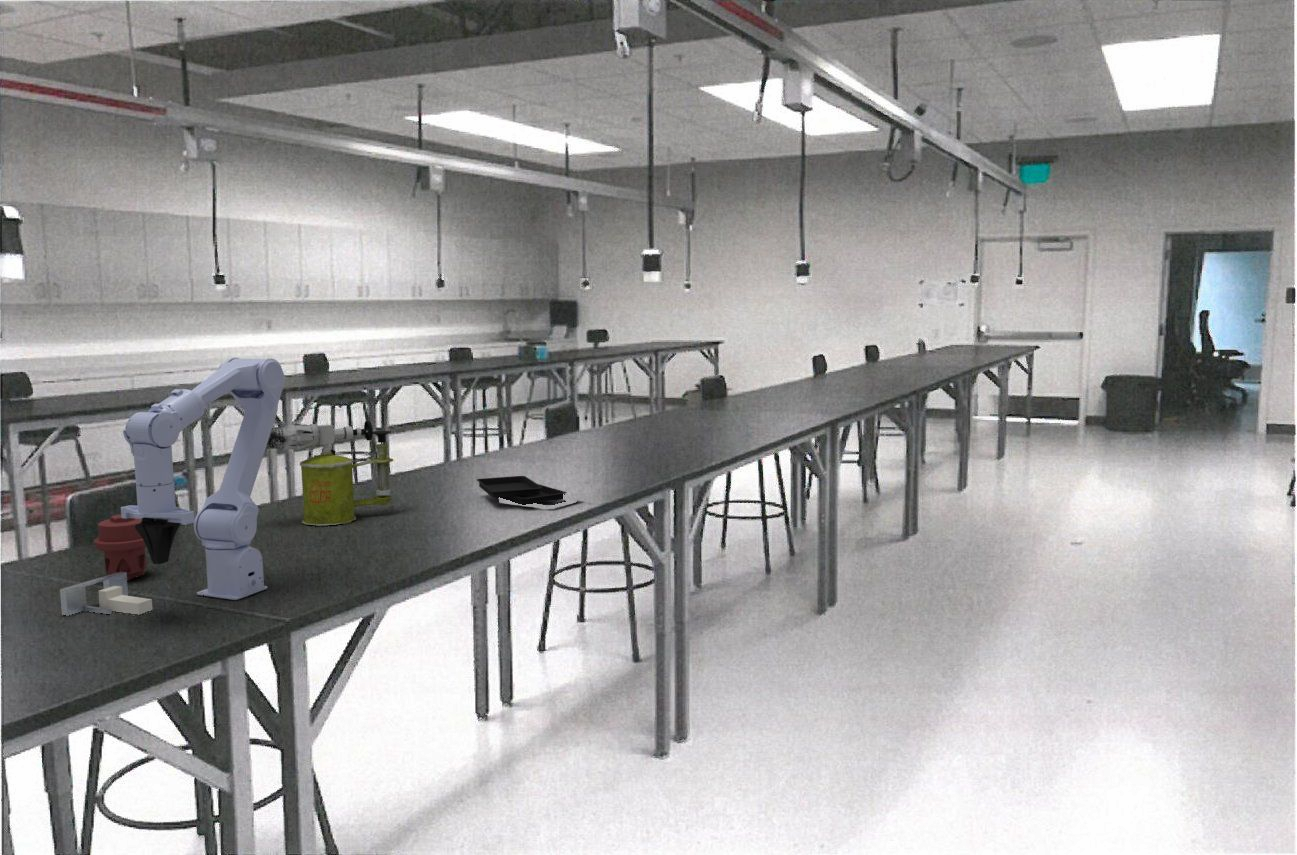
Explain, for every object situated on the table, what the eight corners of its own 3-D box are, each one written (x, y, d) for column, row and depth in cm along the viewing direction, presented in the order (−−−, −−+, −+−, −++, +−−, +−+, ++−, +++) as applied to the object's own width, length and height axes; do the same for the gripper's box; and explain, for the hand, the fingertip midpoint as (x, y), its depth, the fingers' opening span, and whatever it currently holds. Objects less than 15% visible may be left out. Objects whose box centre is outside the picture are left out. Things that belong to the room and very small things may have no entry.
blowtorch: (403, 518, 244) (399, 417, 241) (264, 534, 227) (258, 427, 223) (387, 508, 255) (383, 413, 252) (253, 524, 238) (247, 421, 234)
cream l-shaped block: (153, 611, 171) (152, 591, 170) (137, 616, 168) (136, 596, 167) (111, 604, 174) (109, 585, 174) (94, 609, 171) (93, 589, 171)
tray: (591, 499, 266) (590, 480, 266) (549, 516, 245) (548, 496, 245) (496, 491, 278) (496, 473, 278) (448, 507, 257) (447, 487, 257)
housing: (152, 600, 177) (150, 575, 176) (92, 620, 166) (90, 593, 165) (122, 596, 179) (120, 571, 179) (61, 615, 168) (59, 589, 168)
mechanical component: (88, 579, 190) (141, 568, 198) (110, 588, 184) (164, 576, 192) (83, 516, 189) (137, 508, 197) (105, 524, 183) (160, 515, 190)
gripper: (102, 484, 164) (108, 564, 165) (167, 490, 158) (173, 572, 160) (138, 477, 170) (144, 554, 172) (202, 483, 165) (207, 562, 166)
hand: (160, 562), depth 166 cm, fingers closed
